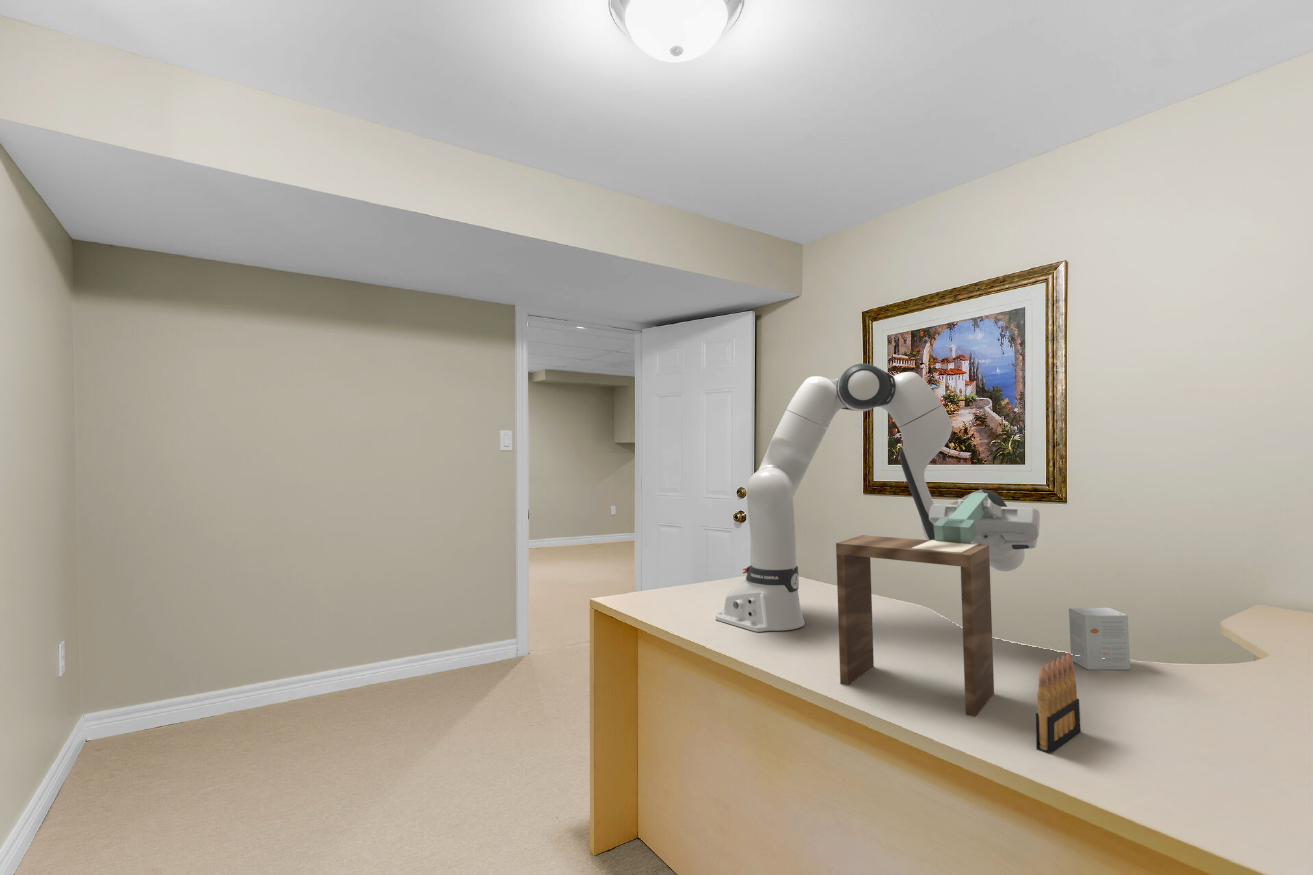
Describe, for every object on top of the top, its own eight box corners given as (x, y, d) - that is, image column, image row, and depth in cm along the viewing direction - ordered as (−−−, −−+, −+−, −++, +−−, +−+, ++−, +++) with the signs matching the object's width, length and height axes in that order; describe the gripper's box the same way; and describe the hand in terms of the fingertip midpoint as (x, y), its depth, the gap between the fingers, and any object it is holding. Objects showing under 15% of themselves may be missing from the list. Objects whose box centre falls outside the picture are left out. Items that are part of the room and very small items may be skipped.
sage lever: (935, 540, 113) (933, 525, 113) (965, 506, 128) (963, 492, 128) (970, 543, 109) (968, 527, 109) (997, 507, 124) (995, 493, 124)
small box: (1112, 660, 123) (1110, 607, 123) (1131, 670, 117) (1129, 614, 117) (1069, 659, 124) (1067, 607, 124) (1086, 670, 118) (1084, 614, 118)
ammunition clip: (1050, 754, 87) (1047, 668, 87) (1035, 749, 89) (1033, 665, 89) (1081, 732, 93) (1078, 652, 93) (1067, 727, 95) (1064, 649, 95)
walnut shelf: (840, 683, 114) (835, 542, 115) (866, 665, 123) (862, 534, 124) (975, 716, 99) (970, 553, 100) (994, 693, 108) (989, 543, 109)
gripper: (940, 514, 139) (921, 487, 130) (1046, 519, 126) (1033, 490, 117) (937, 540, 137) (917, 515, 128) (1044, 548, 123) (1031, 520, 114)
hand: (973, 503), depth 122 cm, fingers closed on sage lever, 3 cm apart
